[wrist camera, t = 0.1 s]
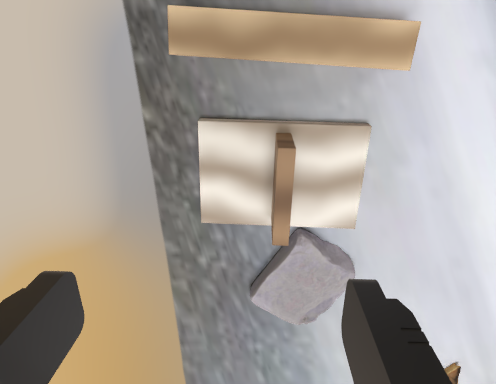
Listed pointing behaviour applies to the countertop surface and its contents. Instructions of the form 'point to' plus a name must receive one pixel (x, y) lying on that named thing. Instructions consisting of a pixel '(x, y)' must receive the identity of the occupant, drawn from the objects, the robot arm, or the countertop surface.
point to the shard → (453, 373)
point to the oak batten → (292, 37)
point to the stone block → (302, 279)
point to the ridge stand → (281, 173)
